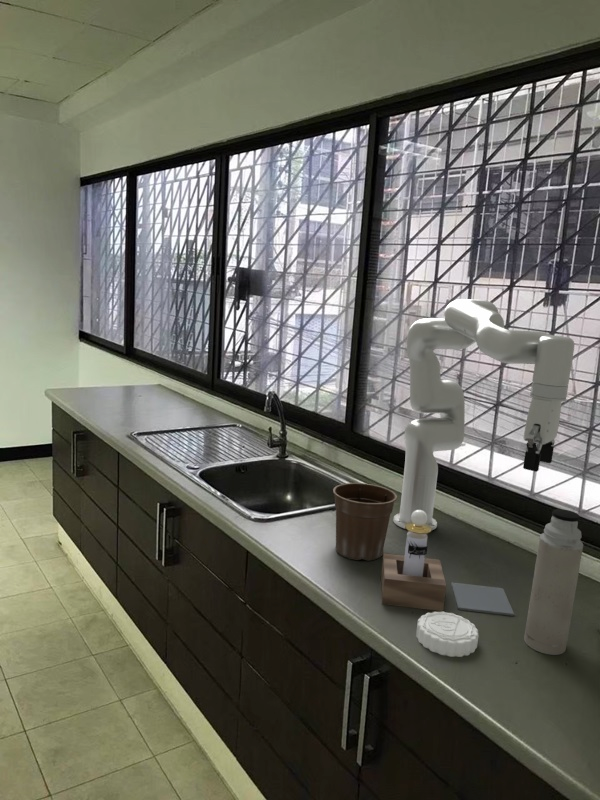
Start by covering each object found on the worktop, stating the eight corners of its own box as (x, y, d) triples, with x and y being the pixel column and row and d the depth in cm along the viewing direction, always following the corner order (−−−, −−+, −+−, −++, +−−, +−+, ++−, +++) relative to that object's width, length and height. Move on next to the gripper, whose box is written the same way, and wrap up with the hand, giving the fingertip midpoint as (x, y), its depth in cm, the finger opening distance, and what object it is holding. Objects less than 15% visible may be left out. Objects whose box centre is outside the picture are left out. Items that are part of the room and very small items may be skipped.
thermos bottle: (518, 631, 135) (537, 504, 130) (555, 633, 135) (576, 506, 130) (532, 654, 127) (554, 518, 122) (572, 656, 128) (595, 521, 122)
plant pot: (345, 533, 180) (350, 478, 177) (400, 549, 172) (406, 491, 169) (316, 553, 166) (321, 492, 163) (374, 571, 158) (380, 508, 155)
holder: (380, 576, 155) (383, 553, 154) (436, 583, 154) (439, 559, 153) (382, 603, 142) (384, 578, 141) (442, 611, 141) (446, 585, 140)
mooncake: (422, 619, 138) (423, 603, 137) (480, 633, 134) (482, 618, 133) (410, 647, 127) (412, 630, 126) (473, 664, 123) (475, 647, 122)
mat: (451, 584, 154) (451, 582, 154) (502, 590, 153) (503, 588, 153) (457, 609, 143) (458, 607, 142) (513, 616, 142) (514, 613, 141)
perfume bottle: (395, 586, 151) (404, 504, 147) (420, 587, 151) (429, 506, 147) (400, 598, 145) (409, 514, 142) (425, 600, 146) (435, 515, 142)
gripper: (543, 385, 153) (532, 455, 157) (519, 392, 139) (507, 469, 143) (576, 390, 149) (565, 462, 152) (554, 399, 135) (542, 477, 138)
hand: (537, 465), depth 147 cm, fingers open, 9 cm apart
